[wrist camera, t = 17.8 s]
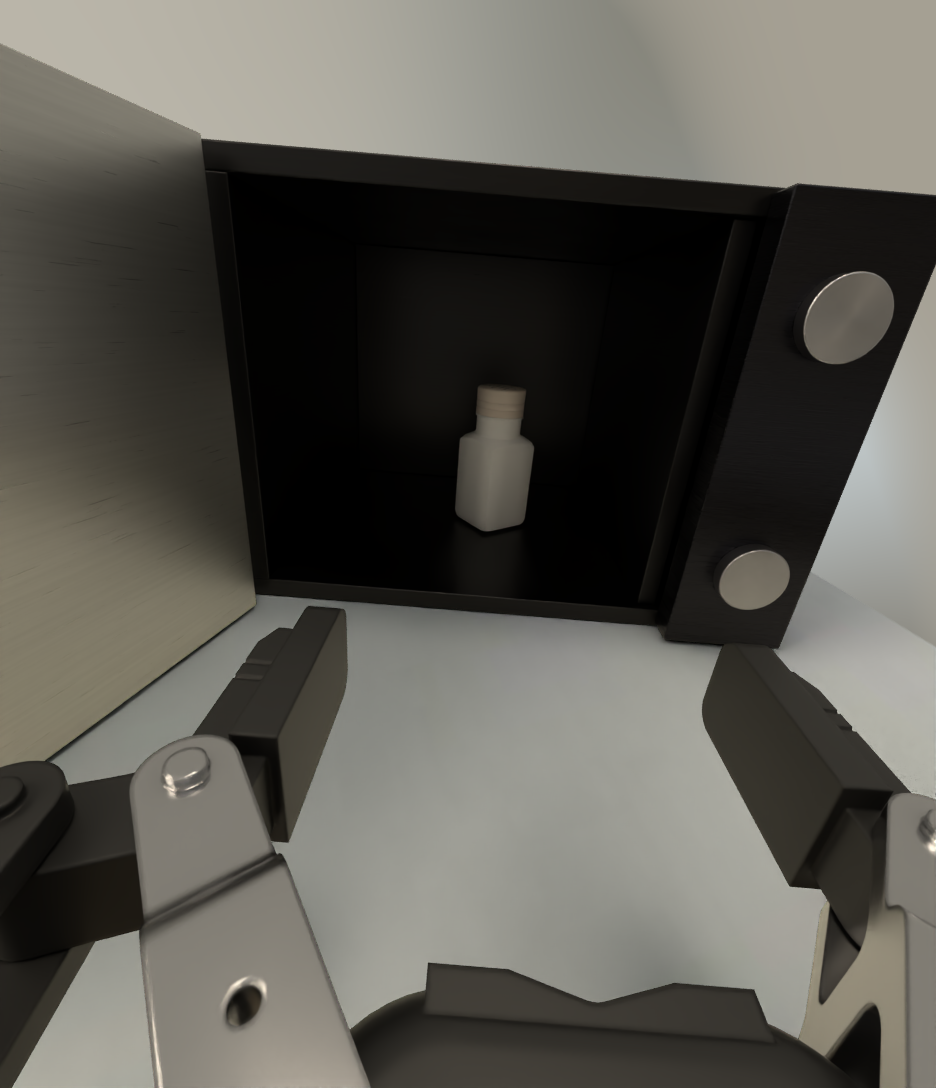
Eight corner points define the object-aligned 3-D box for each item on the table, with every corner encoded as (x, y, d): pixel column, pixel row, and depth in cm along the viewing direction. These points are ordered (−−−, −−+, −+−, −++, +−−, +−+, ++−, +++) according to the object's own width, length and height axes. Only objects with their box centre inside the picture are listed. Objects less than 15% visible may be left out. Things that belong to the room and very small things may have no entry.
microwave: (786, 662, 25) (988, 184, 17) (232, 617, 25) (160, 114, 17) (645, 500, 47) (702, 258, 39) (350, 475, 47) (344, 228, 39)
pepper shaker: (483, 536, 34) (497, 392, 30) (451, 516, 37) (460, 383, 33) (527, 526, 36) (545, 391, 32) (493, 508, 39) (506, 382, 35)
